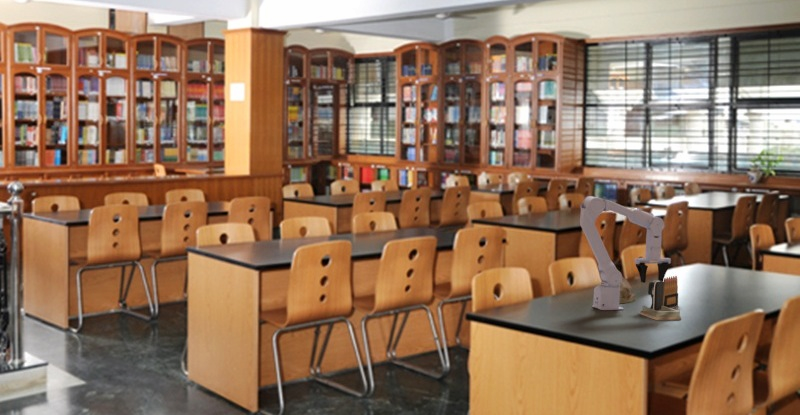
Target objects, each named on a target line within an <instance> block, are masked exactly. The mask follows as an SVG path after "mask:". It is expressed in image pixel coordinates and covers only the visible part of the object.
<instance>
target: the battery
mask: <svg viewBox="0 0 800 415" xmlns="http://www.w3.org/2000/svg"><path fill="white" fill-rule="evenodd" d="M647 295H648V296H649V295H650V297H651V305H650V307H649V308H651V309H654V310H657V311H661V306H663V295H664V280H663V281H658V280H652V281H650V282H649V283H648V288H647Z"/></svg>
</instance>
